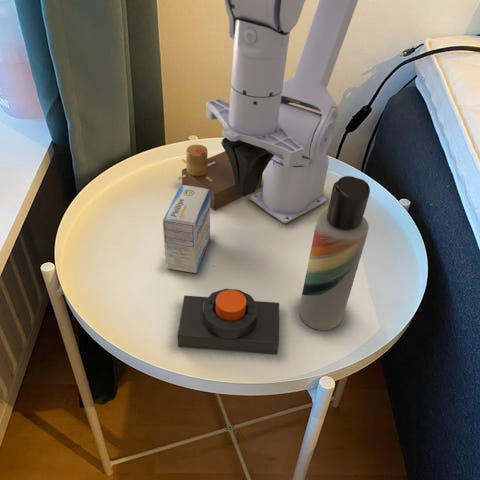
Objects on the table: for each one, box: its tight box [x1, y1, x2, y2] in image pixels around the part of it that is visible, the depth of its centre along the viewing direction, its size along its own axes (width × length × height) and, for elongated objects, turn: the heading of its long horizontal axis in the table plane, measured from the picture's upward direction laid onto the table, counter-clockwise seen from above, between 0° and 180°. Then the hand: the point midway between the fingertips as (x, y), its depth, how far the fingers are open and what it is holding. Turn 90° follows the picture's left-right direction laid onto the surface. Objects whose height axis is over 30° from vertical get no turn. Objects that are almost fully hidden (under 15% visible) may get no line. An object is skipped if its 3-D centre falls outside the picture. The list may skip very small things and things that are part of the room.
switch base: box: [176, 288, 280, 355], centre depth 67 cm, size 12×7×4 cm, turn 87°
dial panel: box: [177, 150, 264, 211], centre depth 87 cm, size 12×10×3 cm
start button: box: [215, 290, 246, 322], centre depth 65 cm, size 4×4×2 cm
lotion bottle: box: [298, 175, 371, 331], centre depth 63 cm, size 6×6×20 cm
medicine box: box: [162, 184, 211, 274], centre depth 74 cm, size 8×4×9 cm, turn 168°
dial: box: [185, 144, 208, 176], centre depth 84 cm, size 3×3×4 cm
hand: (246, 191), depth 70 cm, fingers closed
